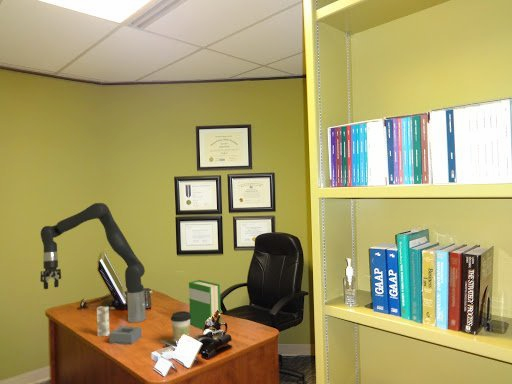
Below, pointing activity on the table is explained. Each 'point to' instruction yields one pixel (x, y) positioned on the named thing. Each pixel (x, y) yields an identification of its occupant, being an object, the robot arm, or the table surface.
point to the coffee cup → (180, 324)
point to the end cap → (125, 335)
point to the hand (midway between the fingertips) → (51, 288)
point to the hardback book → (203, 302)
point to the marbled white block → (103, 321)
